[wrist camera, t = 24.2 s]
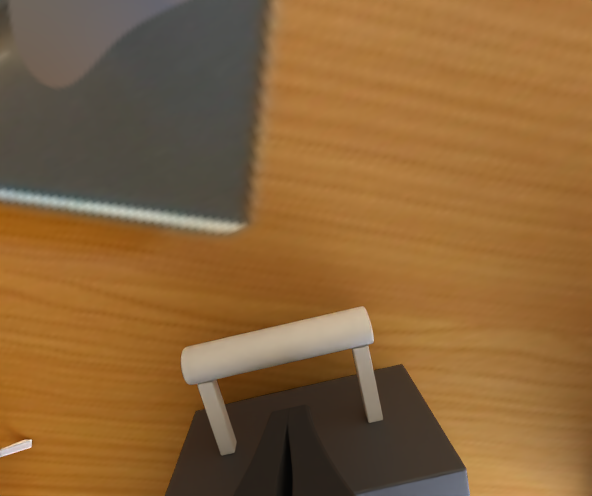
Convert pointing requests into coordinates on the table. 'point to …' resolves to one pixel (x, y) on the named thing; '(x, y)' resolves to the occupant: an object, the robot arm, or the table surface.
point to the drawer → (316, 414)
